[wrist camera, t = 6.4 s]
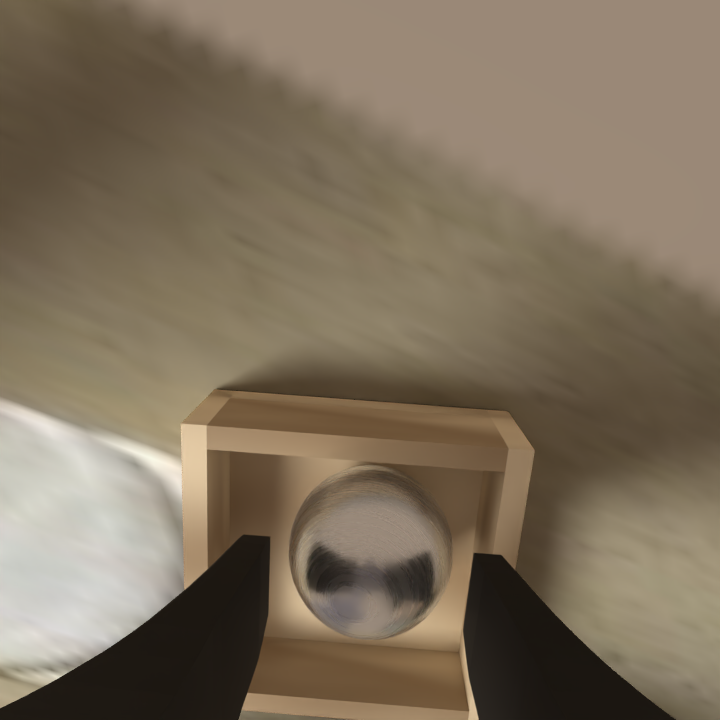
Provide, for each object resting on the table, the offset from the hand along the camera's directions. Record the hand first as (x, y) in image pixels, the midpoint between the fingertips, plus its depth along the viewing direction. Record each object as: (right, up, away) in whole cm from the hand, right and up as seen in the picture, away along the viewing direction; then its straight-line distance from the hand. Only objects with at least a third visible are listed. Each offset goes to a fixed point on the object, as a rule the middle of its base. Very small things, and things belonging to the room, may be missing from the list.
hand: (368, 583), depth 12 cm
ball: (0, 0, +1) cm, 1 cm away
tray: (0, 0, +4) cm, 4 cm away
